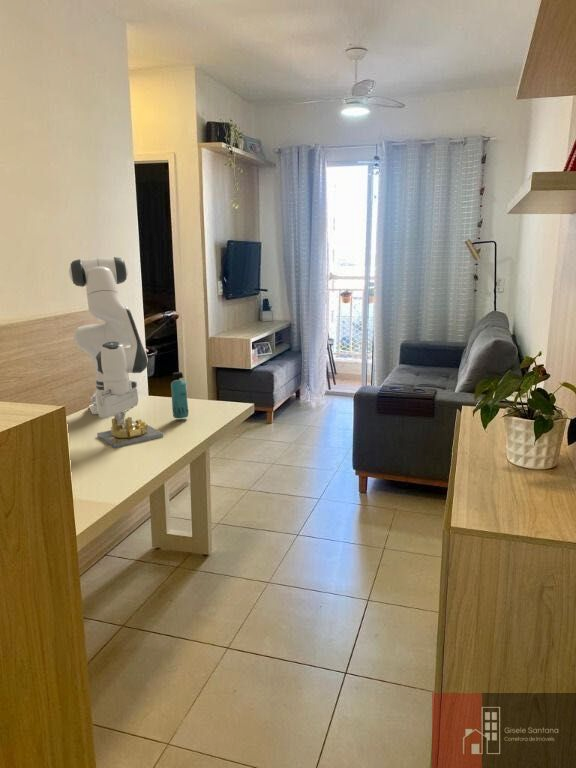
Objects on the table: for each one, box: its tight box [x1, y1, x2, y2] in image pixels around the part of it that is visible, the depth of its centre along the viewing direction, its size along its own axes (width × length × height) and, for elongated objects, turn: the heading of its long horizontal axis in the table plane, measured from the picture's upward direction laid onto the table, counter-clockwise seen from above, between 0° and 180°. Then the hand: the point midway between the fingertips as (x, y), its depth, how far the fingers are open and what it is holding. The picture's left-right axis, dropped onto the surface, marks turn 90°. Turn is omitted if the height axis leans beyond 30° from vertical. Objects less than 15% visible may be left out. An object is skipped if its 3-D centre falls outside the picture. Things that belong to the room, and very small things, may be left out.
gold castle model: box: [96, 422, 164, 449], centre depth 213 cm, size 18×19×5 cm
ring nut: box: [110, 417, 148, 438], centre depth 212 cm, size 13×12×7 cm
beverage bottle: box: [170, 371, 189, 419], centre depth 232 cm, size 6×7×20 cm
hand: (120, 423), depth 208 cm, fingers closed
